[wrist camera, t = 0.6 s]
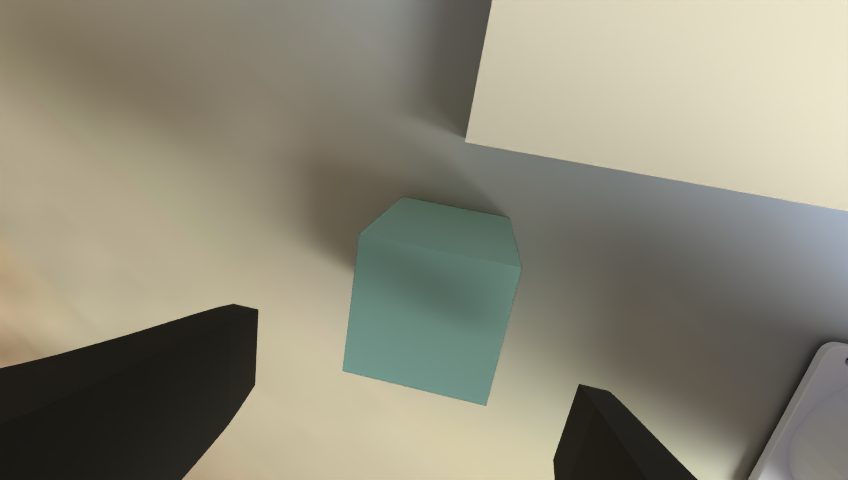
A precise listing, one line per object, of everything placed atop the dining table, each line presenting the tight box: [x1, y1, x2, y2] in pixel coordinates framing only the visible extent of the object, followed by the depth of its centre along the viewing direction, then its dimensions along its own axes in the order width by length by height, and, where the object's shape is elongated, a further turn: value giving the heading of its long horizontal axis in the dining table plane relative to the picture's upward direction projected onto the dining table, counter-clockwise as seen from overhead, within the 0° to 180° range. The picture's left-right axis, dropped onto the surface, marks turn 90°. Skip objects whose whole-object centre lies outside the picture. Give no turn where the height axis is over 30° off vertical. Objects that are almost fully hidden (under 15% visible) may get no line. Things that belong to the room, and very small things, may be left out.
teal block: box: [342, 197, 522, 406], centre depth 14 cm, size 4×4×6 cm
